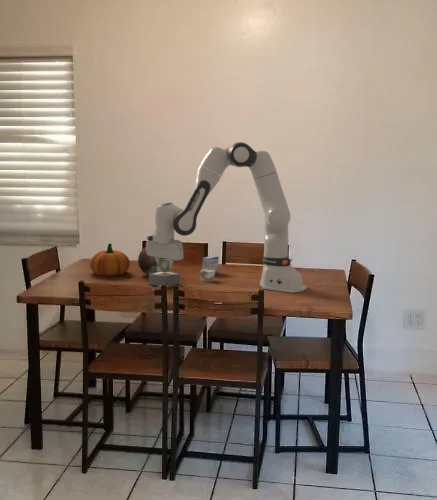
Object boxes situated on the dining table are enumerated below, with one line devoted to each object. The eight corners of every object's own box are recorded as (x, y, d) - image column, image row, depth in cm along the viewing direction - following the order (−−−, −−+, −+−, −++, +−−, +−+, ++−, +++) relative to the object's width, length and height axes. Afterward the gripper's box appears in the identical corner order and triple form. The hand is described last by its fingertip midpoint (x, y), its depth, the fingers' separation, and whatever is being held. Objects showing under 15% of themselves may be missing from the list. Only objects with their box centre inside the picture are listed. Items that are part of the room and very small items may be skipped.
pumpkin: (100, 279, 292) (100, 248, 289) (83, 272, 307) (83, 242, 304) (136, 275, 303) (136, 245, 301) (118, 268, 318) (118, 239, 316)
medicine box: (208, 275, 306) (209, 258, 305) (202, 274, 309) (202, 257, 307) (218, 273, 313) (218, 256, 311) (211, 271, 315) (212, 255, 314)
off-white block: (214, 280, 296) (214, 270, 295) (208, 282, 292) (208, 272, 291) (206, 278, 299) (206, 268, 298) (200, 280, 295) (200, 270, 294)
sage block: (172, 270, 285) (172, 260, 284) (165, 272, 281) (165, 261, 280) (164, 269, 288) (164, 258, 287) (156, 270, 284) (156, 260, 283)
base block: (179, 284, 287) (179, 273, 286) (165, 288, 279) (165, 276, 278) (163, 280, 293) (163, 270, 292) (149, 284, 285) (149, 273, 284)
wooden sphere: (144, 279, 294) (144, 248, 292) (133, 273, 308) (133, 243, 305) (172, 277, 301) (173, 247, 298) (161, 270, 314) (161, 242, 312)
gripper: (186, 239, 278) (186, 269, 281) (153, 234, 290) (153, 263, 293) (177, 241, 273) (177, 271, 276) (143, 236, 285) (143, 265, 288)
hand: (164, 267), depth 284 cm, fingers closed on sage block, 5 cm apart
